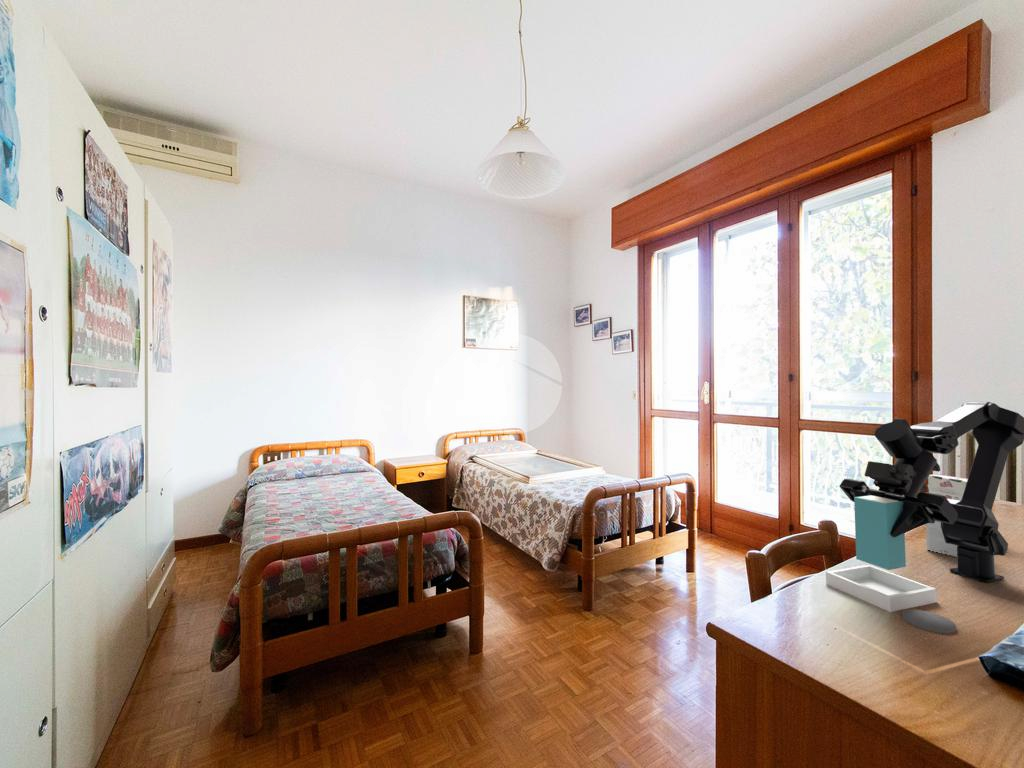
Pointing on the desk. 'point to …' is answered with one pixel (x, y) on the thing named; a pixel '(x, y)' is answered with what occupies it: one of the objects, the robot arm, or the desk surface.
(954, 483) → the candy bar box
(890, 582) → the white tray
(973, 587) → the desk surface
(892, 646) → the desk surface
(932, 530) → the small box
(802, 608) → the desk surface
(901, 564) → the teal carton
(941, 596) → the desk surface
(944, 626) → the charcoal coaster
